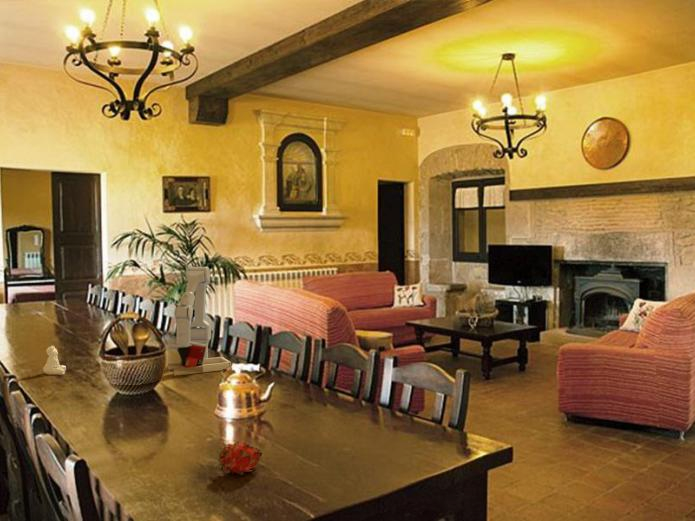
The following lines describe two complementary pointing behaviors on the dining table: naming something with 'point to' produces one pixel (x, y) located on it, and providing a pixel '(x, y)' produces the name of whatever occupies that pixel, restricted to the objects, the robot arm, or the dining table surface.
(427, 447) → the dining table surface
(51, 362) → the white creature statuette
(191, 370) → the rail channel
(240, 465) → the dragon fruit
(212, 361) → the open frame
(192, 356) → the canned food
